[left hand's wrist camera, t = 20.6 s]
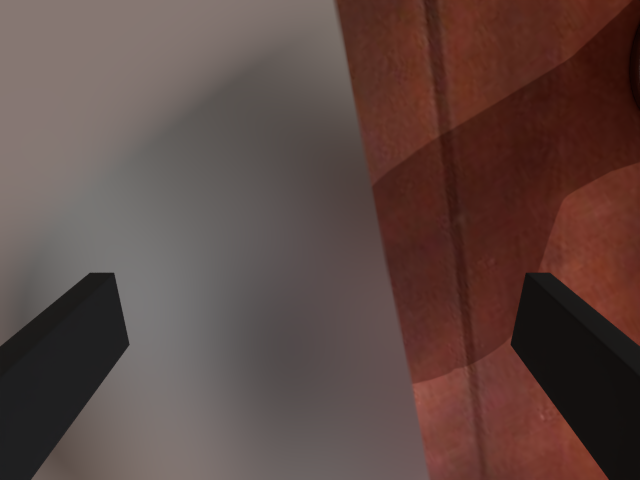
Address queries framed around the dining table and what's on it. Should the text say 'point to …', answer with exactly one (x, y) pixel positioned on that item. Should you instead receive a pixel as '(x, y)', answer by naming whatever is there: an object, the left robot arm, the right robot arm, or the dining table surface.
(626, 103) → the dining table surface
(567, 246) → the dining table surface
